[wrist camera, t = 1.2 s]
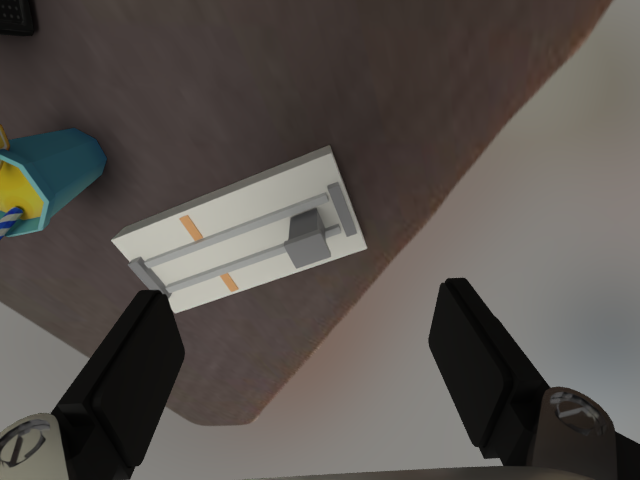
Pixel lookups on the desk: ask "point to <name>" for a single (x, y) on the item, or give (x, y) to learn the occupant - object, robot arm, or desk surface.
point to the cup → (44, 176)
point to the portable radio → (15, 18)
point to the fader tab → (307, 239)
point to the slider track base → (240, 232)
